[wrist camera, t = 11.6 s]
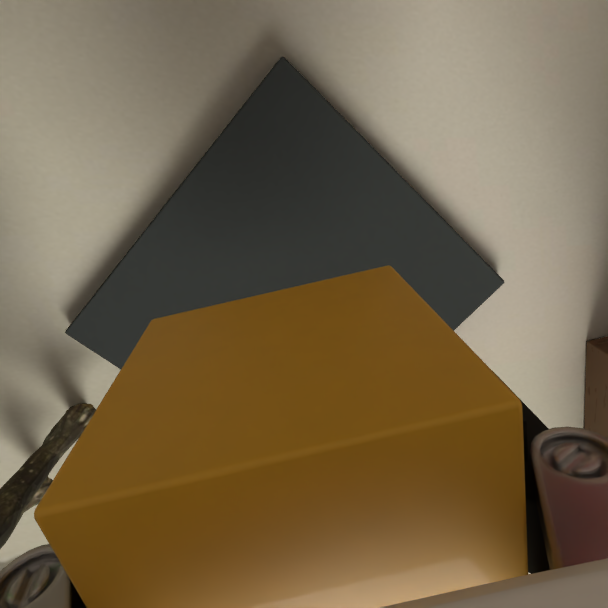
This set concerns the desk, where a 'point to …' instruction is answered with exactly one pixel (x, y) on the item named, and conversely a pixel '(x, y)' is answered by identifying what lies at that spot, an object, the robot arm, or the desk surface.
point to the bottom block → (597, 386)
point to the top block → (295, 459)
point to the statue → (40, 469)
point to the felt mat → (282, 224)
